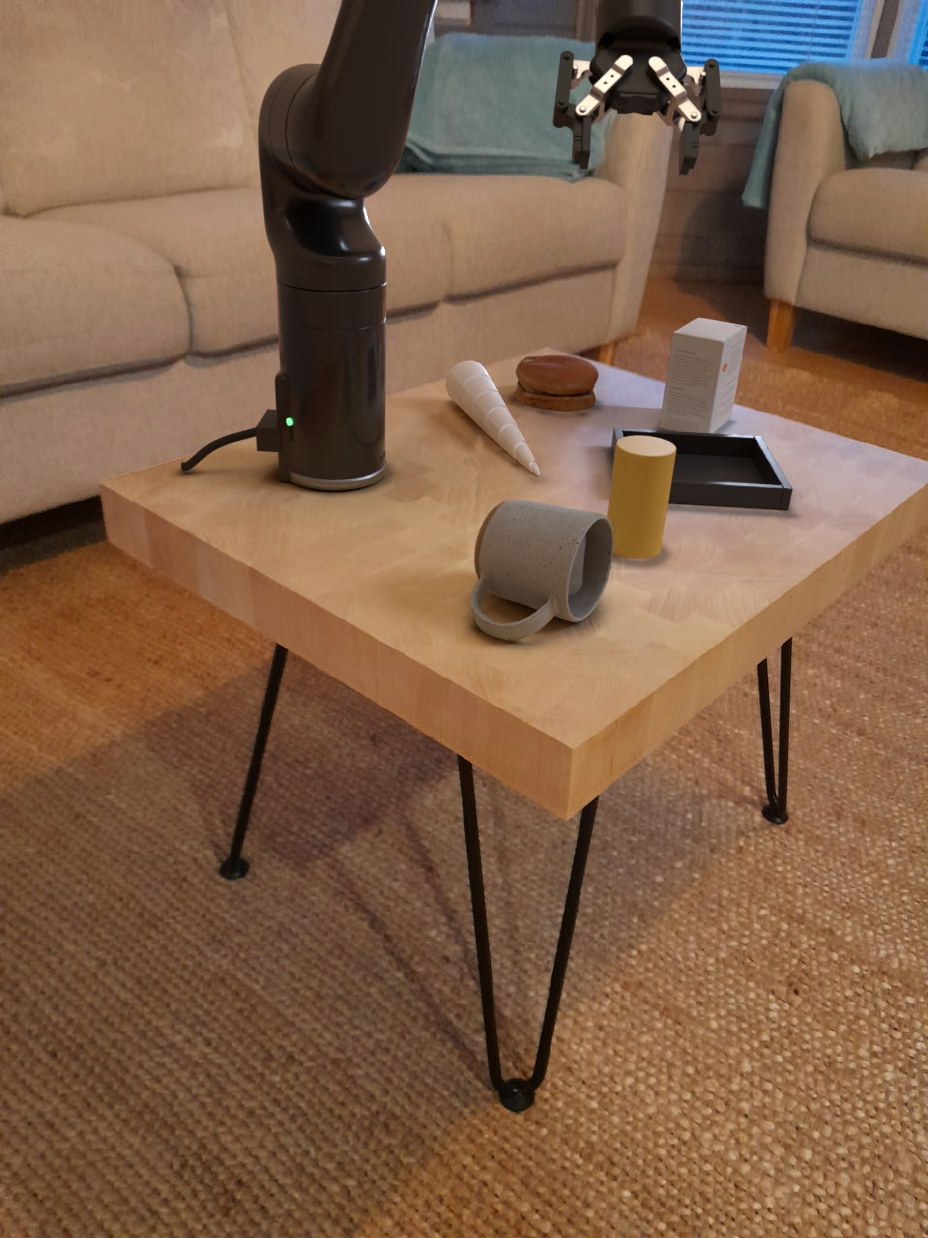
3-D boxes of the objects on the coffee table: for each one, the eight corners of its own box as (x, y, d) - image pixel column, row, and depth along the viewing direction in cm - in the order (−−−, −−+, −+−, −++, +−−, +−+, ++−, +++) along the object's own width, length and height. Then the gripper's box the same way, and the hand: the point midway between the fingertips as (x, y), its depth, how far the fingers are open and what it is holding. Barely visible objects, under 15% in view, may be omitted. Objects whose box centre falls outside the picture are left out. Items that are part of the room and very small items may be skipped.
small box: (683, 411, 116) (697, 316, 111) (731, 421, 114) (748, 324, 109) (656, 430, 110) (670, 330, 105) (707, 442, 108) (724, 340, 103)
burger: (599, 416, 113) (603, 374, 111) (513, 412, 113) (516, 370, 111) (593, 389, 122) (597, 350, 120) (514, 385, 122) (516, 346, 120)
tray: (622, 505, 92) (625, 479, 91) (610, 451, 104) (613, 427, 103) (787, 515, 92) (793, 488, 91) (756, 459, 104) (761, 435, 103)
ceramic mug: (513, 567, 81) (519, 475, 77) (610, 596, 77) (622, 501, 73) (441, 625, 73) (444, 525, 69) (545, 661, 69) (554, 558, 65)
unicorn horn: (499, 482, 96) (502, 432, 93) (443, 401, 116) (444, 358, 113) (548, 480, 97) (553, 430, 94) (484, 400, 117) (487, 358, 114)
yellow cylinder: (605, 561, 83) (618, 454, 78) (601, 537, 87) (613, 433, 82) (663, 565, 82) (680, 457, 78) (656, 540, 86) (672, 436, 82)
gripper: (562, -30, 89) (554, 130, 85) (729, -21, 89) (730, 139, 85) (555, 41, 96) (547, 190, 92) (709, 48, 96) (709, 199, 92)
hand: (635, 165), depth 88 cm, fingers open, 8 cm apart
